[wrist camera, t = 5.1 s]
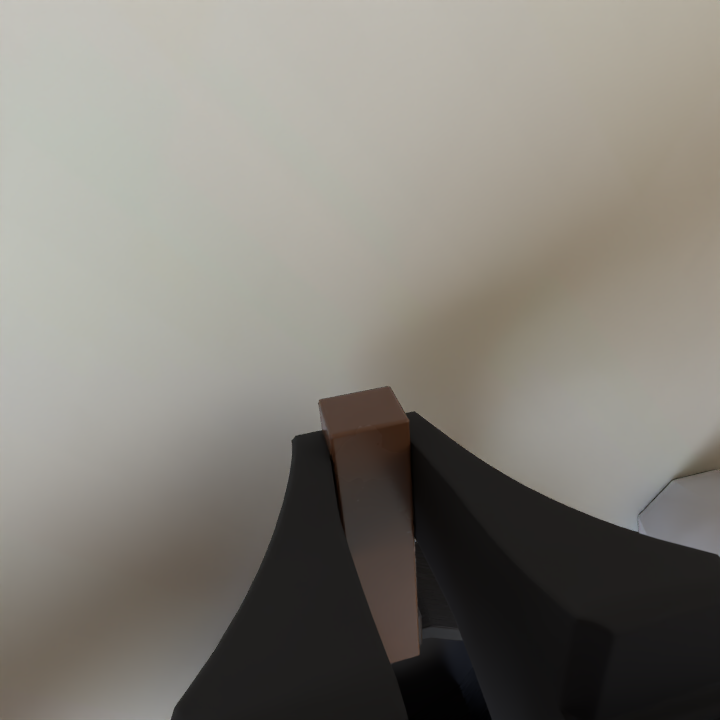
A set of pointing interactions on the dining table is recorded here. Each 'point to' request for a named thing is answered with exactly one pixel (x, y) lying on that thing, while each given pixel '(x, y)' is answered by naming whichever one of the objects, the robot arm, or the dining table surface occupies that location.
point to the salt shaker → (686, 513)
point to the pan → (396, 556)
